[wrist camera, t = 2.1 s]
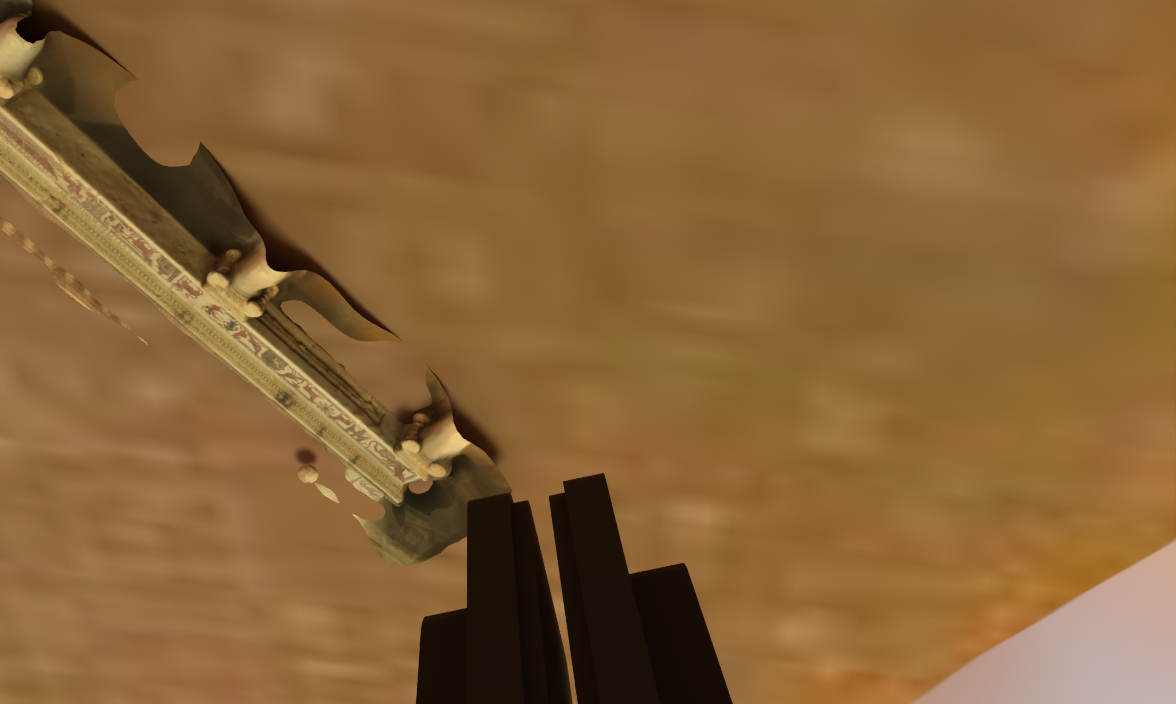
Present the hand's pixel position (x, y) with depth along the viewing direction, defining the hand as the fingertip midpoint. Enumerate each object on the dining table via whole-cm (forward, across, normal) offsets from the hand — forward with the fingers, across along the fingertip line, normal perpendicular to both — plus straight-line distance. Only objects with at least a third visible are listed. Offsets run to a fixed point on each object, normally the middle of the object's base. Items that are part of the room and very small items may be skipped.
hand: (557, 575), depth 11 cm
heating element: (+20, +11, 0) cm, 23 cm away
